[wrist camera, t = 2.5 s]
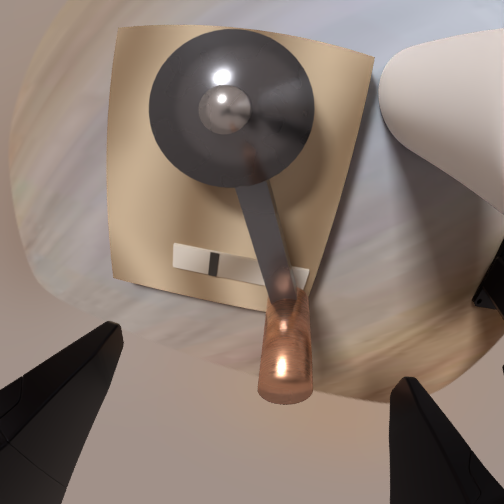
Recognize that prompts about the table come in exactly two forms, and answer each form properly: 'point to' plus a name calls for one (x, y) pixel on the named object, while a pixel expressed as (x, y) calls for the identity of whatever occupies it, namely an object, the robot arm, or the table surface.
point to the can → (451, 107)
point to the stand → (220, 198)
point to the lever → (245, 167)
